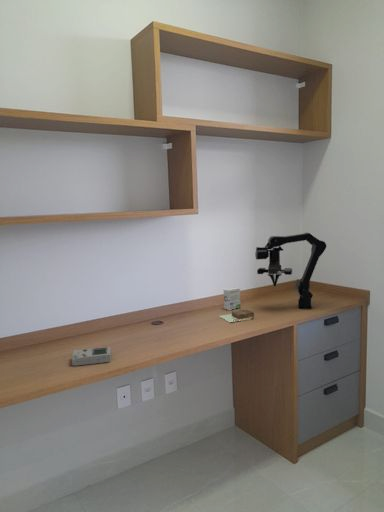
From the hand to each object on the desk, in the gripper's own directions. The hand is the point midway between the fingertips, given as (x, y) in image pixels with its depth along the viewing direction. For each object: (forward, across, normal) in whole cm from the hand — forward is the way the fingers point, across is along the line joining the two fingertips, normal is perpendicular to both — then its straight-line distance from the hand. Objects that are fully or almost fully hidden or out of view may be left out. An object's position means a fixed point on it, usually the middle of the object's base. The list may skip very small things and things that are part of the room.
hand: (274, 286), depth 215 cm
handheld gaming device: (+14, -59, -91) cm, 110 cm away
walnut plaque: (+12, -11, -17) cm, 23 cm away
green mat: (+13, -17, -22) cm, 31 cm away
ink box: (+13, -24, -4) cm, 28 cm away
